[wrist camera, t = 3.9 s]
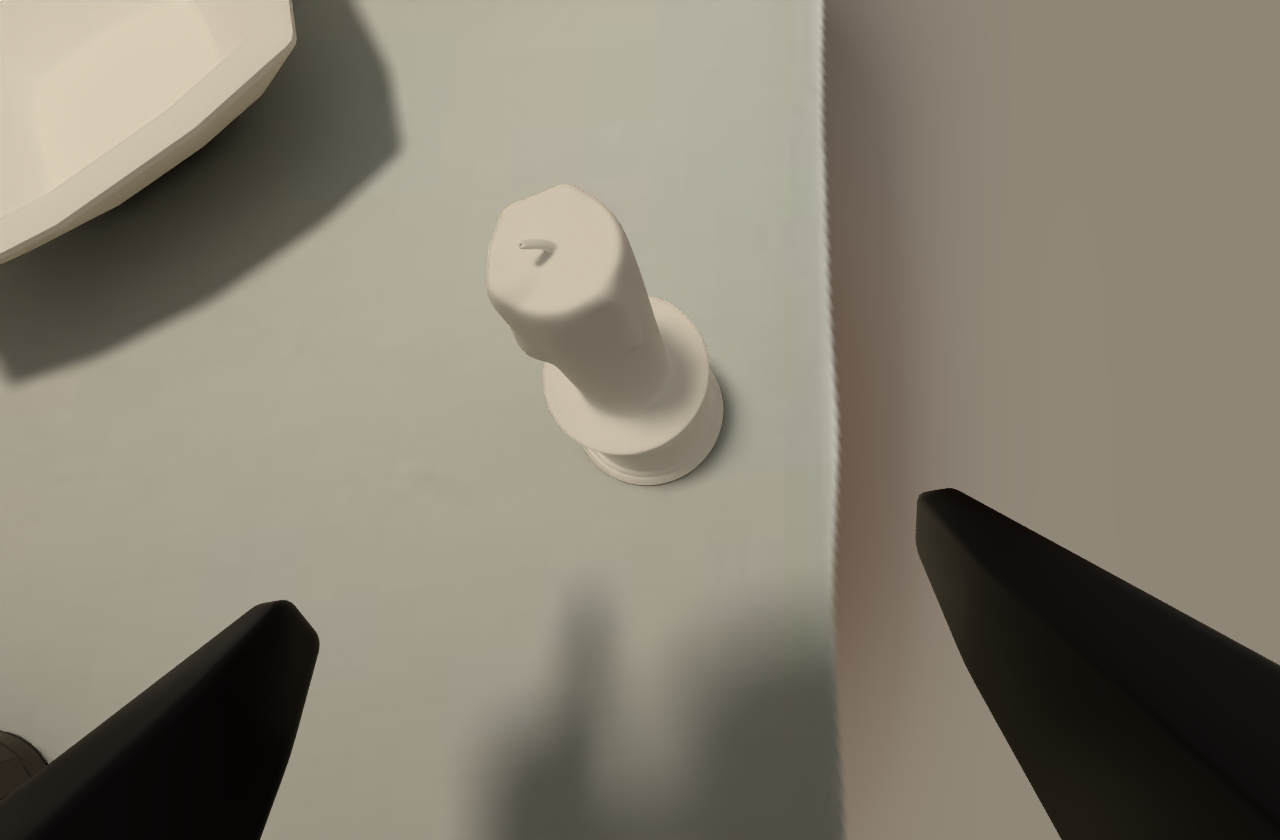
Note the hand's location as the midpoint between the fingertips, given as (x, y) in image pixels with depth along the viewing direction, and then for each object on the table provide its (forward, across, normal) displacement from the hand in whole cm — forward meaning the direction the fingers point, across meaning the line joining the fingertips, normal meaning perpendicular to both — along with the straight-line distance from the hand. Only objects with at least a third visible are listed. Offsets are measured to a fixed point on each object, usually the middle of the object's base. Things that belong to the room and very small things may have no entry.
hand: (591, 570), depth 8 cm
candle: (+12, 0, +5) cm, 13 cm away
